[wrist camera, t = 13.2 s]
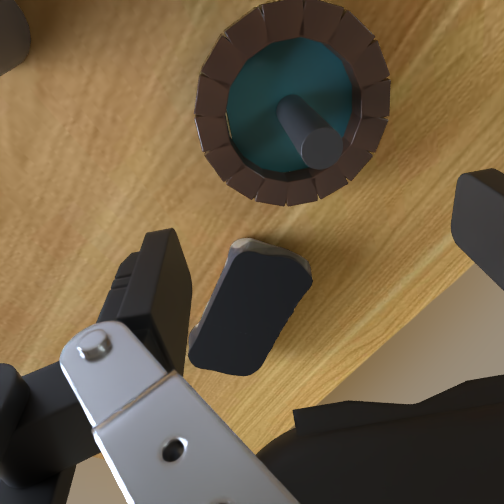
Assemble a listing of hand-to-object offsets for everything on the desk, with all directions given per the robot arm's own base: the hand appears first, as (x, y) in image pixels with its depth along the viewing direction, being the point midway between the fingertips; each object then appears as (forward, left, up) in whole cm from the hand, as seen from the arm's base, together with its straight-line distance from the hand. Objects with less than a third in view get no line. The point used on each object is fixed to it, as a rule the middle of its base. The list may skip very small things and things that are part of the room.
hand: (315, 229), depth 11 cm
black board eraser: (+4, +21, -22) cm, 31 cm away
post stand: (-3, +2, -22) cm, 22 cm away
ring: (-3, +2, -21) cm, 21 cm away
